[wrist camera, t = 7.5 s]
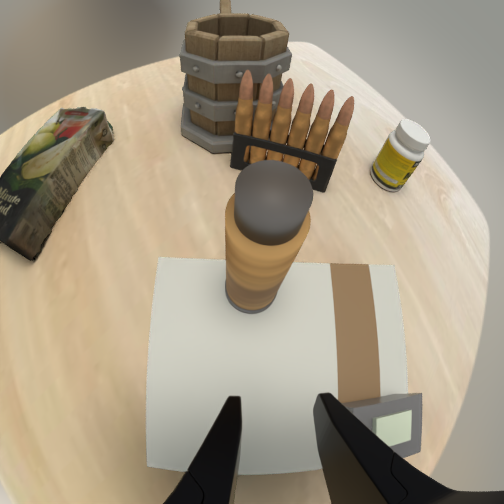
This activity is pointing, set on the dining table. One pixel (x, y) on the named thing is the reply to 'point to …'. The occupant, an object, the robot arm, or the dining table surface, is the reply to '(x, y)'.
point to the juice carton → (49, 175)
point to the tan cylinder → (264, 232)
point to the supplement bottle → (400, 155)
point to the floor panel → (267, 358)
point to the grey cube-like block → (393, 420)
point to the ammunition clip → (279, 135)
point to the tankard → (228, 71)
